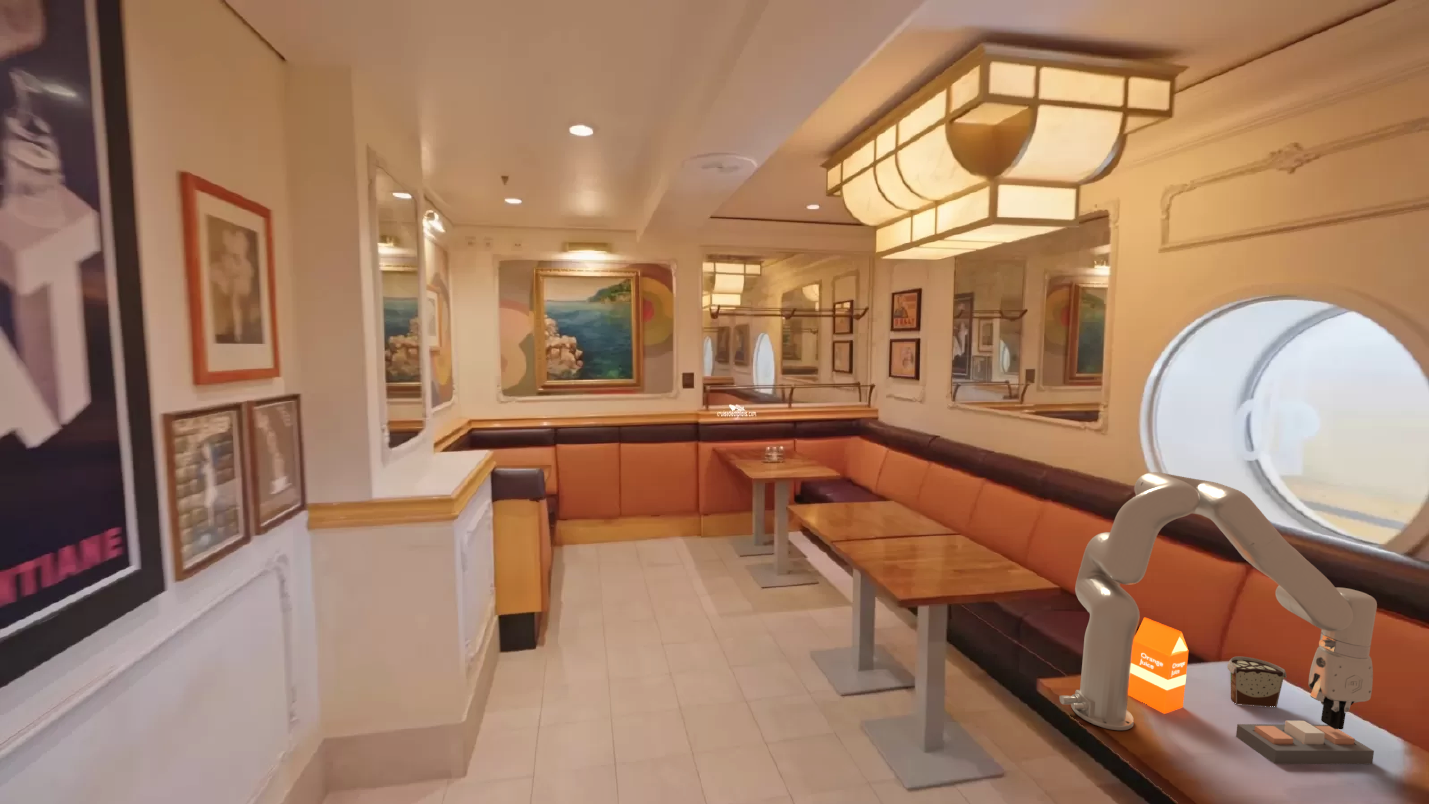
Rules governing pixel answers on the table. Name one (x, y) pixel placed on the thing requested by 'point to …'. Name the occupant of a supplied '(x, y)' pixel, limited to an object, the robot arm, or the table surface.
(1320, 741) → the middle button
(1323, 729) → the outer button
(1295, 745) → the control panel
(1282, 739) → the inner button
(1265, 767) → the table surface
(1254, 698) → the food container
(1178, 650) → the orange juice
